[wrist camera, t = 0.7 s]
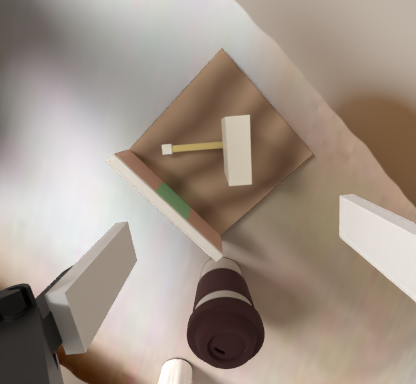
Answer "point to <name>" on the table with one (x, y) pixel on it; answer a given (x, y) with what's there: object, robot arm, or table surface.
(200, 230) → the scale wall
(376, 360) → the table surface
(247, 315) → the coffee cup
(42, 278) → the table surface
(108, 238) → the robot arm
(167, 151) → the white block with rod
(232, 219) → the board
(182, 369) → the cup
